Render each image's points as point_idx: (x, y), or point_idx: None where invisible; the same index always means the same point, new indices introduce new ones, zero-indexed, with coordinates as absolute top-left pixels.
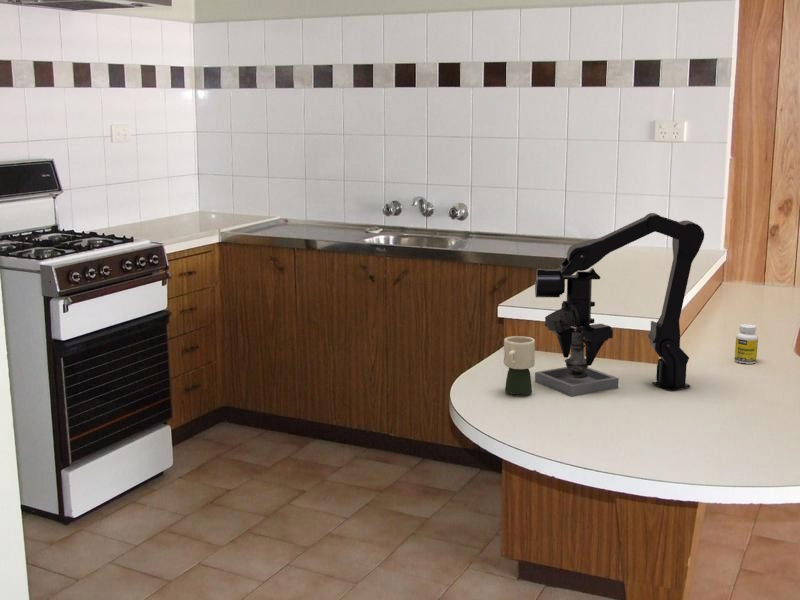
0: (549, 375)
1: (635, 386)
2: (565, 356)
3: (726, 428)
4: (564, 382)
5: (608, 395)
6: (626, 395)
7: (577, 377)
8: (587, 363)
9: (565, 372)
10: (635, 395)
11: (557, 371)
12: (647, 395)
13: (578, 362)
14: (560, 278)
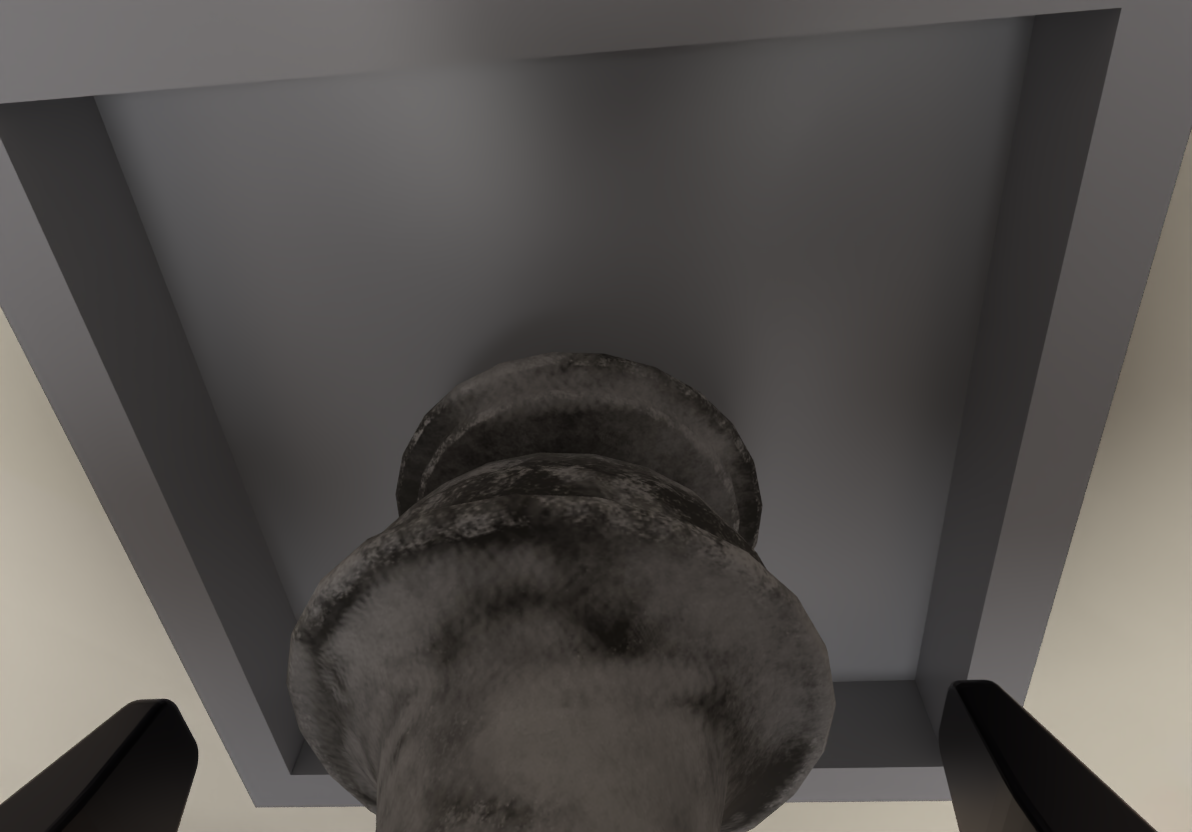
0: (1022, 225)
1: (319, 822)
2: (956, 712)
3: None
4: (165, 39)
5: (46, 497)
6: (30, 636)
7: (421, 446)
8: (95, 731)
9: (966, 529)
10: (24, 693)
11: (1008, 415)
12: (16, 761)
13: (353, 668)
14: None
